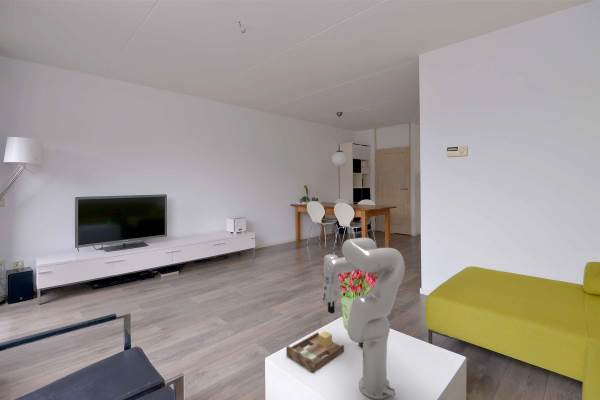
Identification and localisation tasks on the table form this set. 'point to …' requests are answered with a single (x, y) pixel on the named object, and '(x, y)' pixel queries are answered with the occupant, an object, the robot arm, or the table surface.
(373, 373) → the robot arm
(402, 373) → the table surface
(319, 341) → the block
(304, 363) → the box
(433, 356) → the table surface
